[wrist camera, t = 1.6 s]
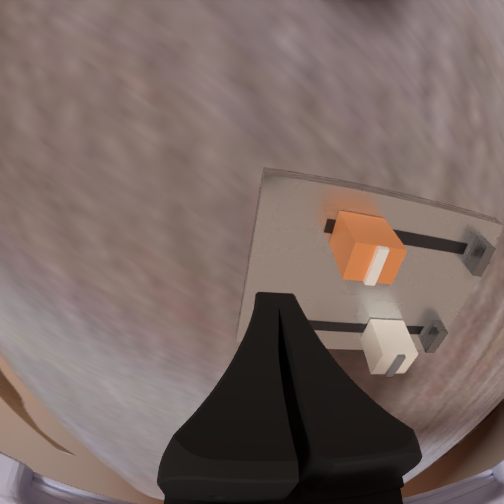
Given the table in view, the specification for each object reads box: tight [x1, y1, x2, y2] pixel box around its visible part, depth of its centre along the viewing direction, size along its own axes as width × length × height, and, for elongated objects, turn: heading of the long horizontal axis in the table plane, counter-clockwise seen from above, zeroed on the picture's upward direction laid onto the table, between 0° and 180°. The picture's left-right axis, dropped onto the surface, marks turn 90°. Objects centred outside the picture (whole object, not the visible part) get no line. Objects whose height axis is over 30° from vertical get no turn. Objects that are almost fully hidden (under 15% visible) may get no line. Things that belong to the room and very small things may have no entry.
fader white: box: [360, 319, 418, 377], centre depth 22 cm, size 3×2×4 cm
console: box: [236, 168, 504, 353], centre depth 21 cm, size 18×13×3 cm
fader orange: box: [329, 211, 407, 286], centre depth 17 cm, size 3×2×4 cm
